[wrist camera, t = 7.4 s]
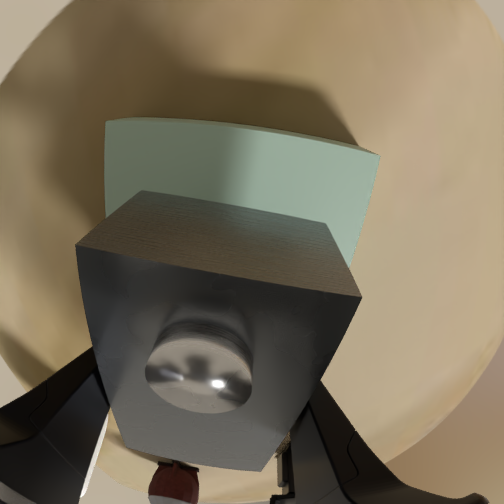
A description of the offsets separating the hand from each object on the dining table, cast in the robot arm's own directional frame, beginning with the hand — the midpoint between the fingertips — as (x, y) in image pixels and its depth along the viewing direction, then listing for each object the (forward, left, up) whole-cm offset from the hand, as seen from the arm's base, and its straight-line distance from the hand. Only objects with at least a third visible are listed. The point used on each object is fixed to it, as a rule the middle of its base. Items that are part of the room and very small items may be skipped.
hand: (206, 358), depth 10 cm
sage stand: (0, 0, -8) cm, 8 cm away
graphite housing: (0, 0, -2) cm, 2 cm away
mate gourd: (+4, +37, -8) cm, 38 cm away
